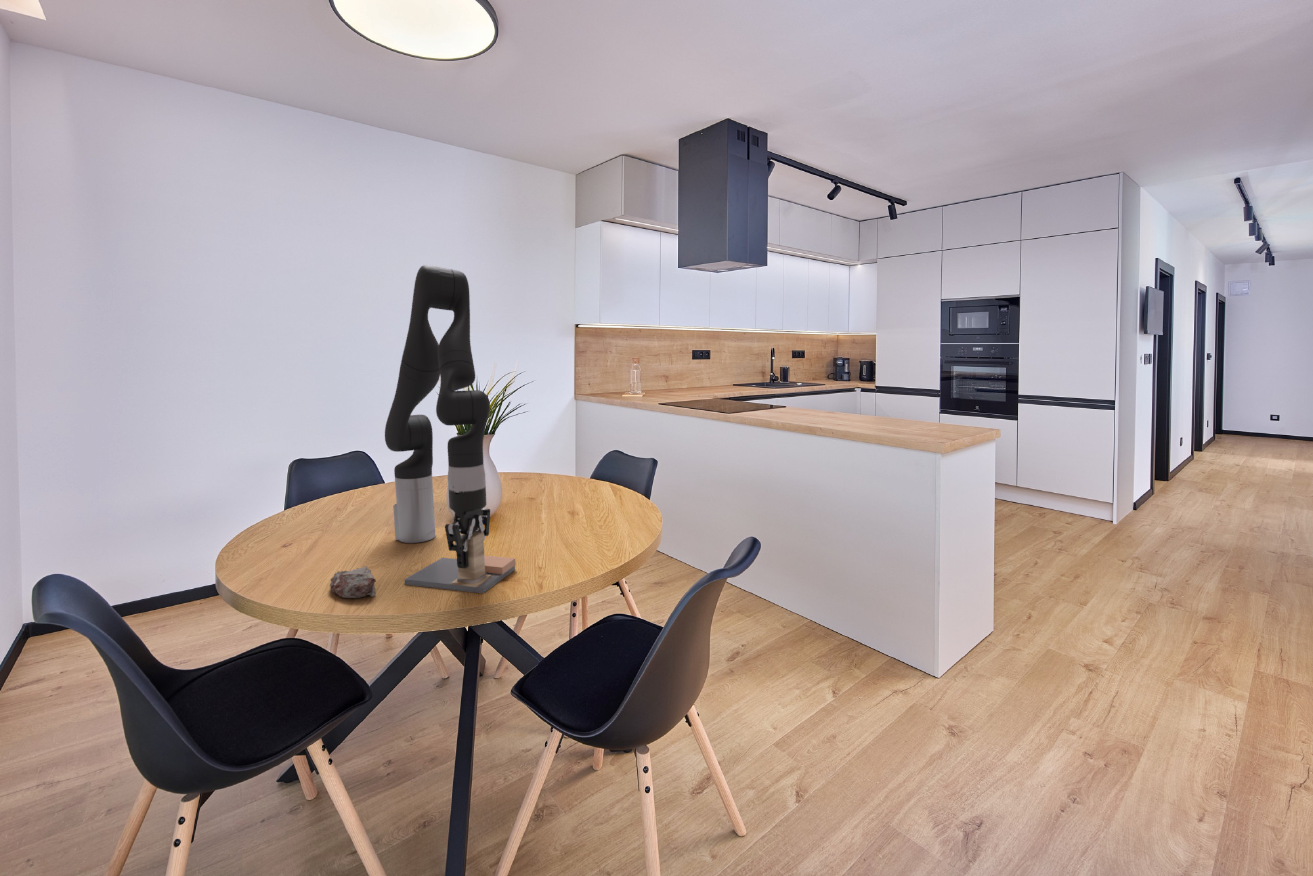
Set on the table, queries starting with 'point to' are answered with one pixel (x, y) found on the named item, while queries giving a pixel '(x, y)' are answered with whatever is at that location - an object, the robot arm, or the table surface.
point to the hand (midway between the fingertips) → (470, 562)
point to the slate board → (449, 577)
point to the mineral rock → (353, 583)
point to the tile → (498, 564)
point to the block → (473, 560)
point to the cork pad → (471, 583)
